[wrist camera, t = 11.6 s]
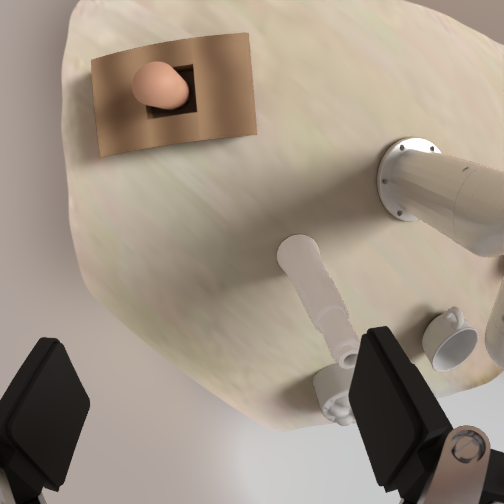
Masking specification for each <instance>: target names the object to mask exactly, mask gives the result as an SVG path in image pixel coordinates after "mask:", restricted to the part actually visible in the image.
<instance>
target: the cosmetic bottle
mask: <svg viewBox="0 0 504 504" xmlns="http://www.w3.org/2000/svg"><path fill="white" fill-rule="evenodd" d="M277 261H278V264H279V265H280V267H281V268H282V269H283V270H284V271H285V273H286V274H287V275H288V277H289V279H290V280H291V282H292V284H293V286H294V287H295V289H296V291H297V293H298V295H299V297H300V299H301V301H302V303H303V305H304V307H305V309H306V311H307V313H308V315H309V317H310V319H311V321H312V323H313V325H314V326H315V328H316V330H317V331H319V332H320V333H322V334H323V336H324V339H325V341H326V343H327V346H328V348H329V351H330V353H331V355H332V357H333V359H334V360H335V361H337V362H338V363H339V366H340V367H341V368H344V369H350V368H353V367H355V365H356V360H357V356H358V352H359V347H360V340H359V339H358V337H357V335H356V333H355V331H354V330H353V328H352V326H351V324H350V323H349V321H348V317H349V314H348V311H347V308H346V306H345V304H344V302H343V300H342V298H341V296H340V294H339V292H338V290H337V288H336V286H335V284H334V283H333V281H332V279H331V277H330V275H329V273H328V271H327V269H326V267H325V265H324V263H323V261H322V258H321V256H320V253H319V249H318V246H317V244H316V242H315V241H314V240H313V239H312V238H311V237H309V236H307V235H302V234H298V235H293V236H290V237H288V238H287V239H285V240H284V241H283V242H282V243H281V245H280V246H279V248H278V251H277Z"/></svg>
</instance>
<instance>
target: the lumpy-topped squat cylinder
mask: <svg viewBox="0 0 504 504" xmlns="http://www.w3.org/2000/svg"><path fill="white" fill-rule="evenodd" d="M354 369H355V367H353V368H350V369H344V368H341V367H340V366H339V363H335V364H332V365H329V366H327V367H325V368H323V369H321V370H320V371H319V372H317V373H316V375H315V376H314V378H313V386H314V389H315V392H316V395H317V399H318V402H319V405H320V408H321V411H322V414H323V415H324V416H325V417H326V418H327V419H328V420H330V421H332V422H337V423H338V424H339V425H341V426H347V425H349V424H351V423H356V420H355V417H354V414H353V412H352V409H351V406H350V403H349V398H348V393H349V389H350V385H351V381H352V377H353V373H354Z"/></svg>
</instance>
